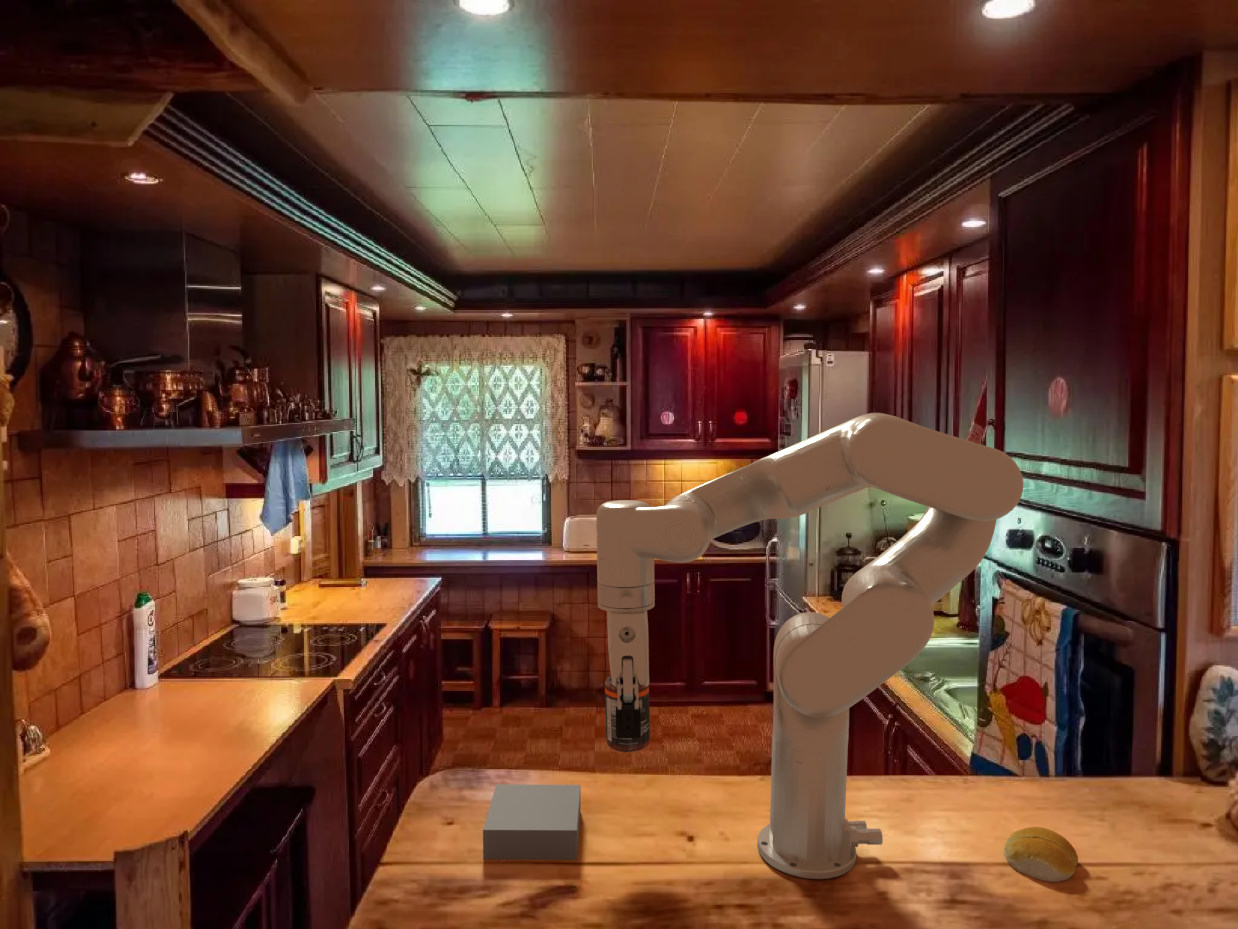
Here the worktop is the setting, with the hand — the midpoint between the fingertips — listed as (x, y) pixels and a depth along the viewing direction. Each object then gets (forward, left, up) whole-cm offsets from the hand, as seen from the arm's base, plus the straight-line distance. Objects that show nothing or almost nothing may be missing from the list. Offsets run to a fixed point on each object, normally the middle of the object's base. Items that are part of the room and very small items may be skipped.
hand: (627, 725), depth 110 cm
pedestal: (+13, 0, -15) cm, 20 cm away
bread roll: (-53, +6, -16) cm, 56 cm away
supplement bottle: (0, 0, -3) cm, 3 cm away
